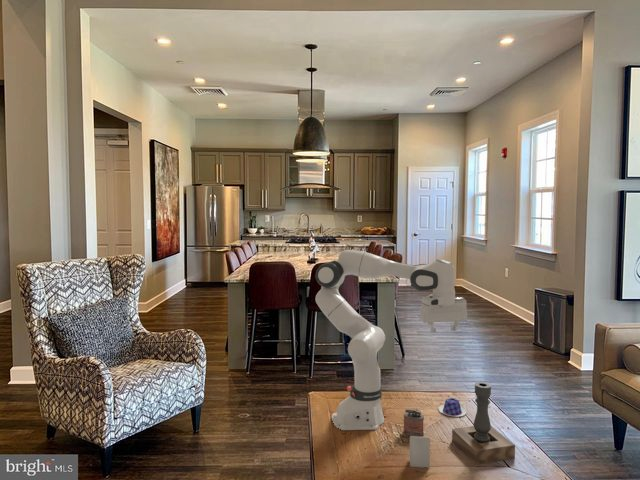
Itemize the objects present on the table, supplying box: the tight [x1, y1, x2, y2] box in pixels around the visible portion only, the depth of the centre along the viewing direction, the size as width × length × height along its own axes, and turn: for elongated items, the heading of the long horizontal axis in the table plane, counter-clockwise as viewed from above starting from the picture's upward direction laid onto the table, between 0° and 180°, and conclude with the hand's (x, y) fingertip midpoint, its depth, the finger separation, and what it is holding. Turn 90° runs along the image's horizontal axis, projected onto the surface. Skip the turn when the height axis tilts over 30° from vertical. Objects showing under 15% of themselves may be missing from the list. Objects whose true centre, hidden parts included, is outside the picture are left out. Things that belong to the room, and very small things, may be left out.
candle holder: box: [473, 381, 492, 444], centre depth 165 cm, size 6×6×25 cm
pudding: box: [438, 397, 467, 418], centre depth 197 cm, size 12×12×5 cm
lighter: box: [402, 408, 425, 437], centre depth 178 cm, size 8×3×10 cm, turn 71°
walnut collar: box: [451, 425, 516, 465], centre depth 166 cm, size 16×16×5 cm
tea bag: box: [409, 435, 431, 469], centre depth 157 cm, size 4×7×10 cm, turn 81°
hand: (443, 331), depth 185 cm, fingers open, 8 cm apart
